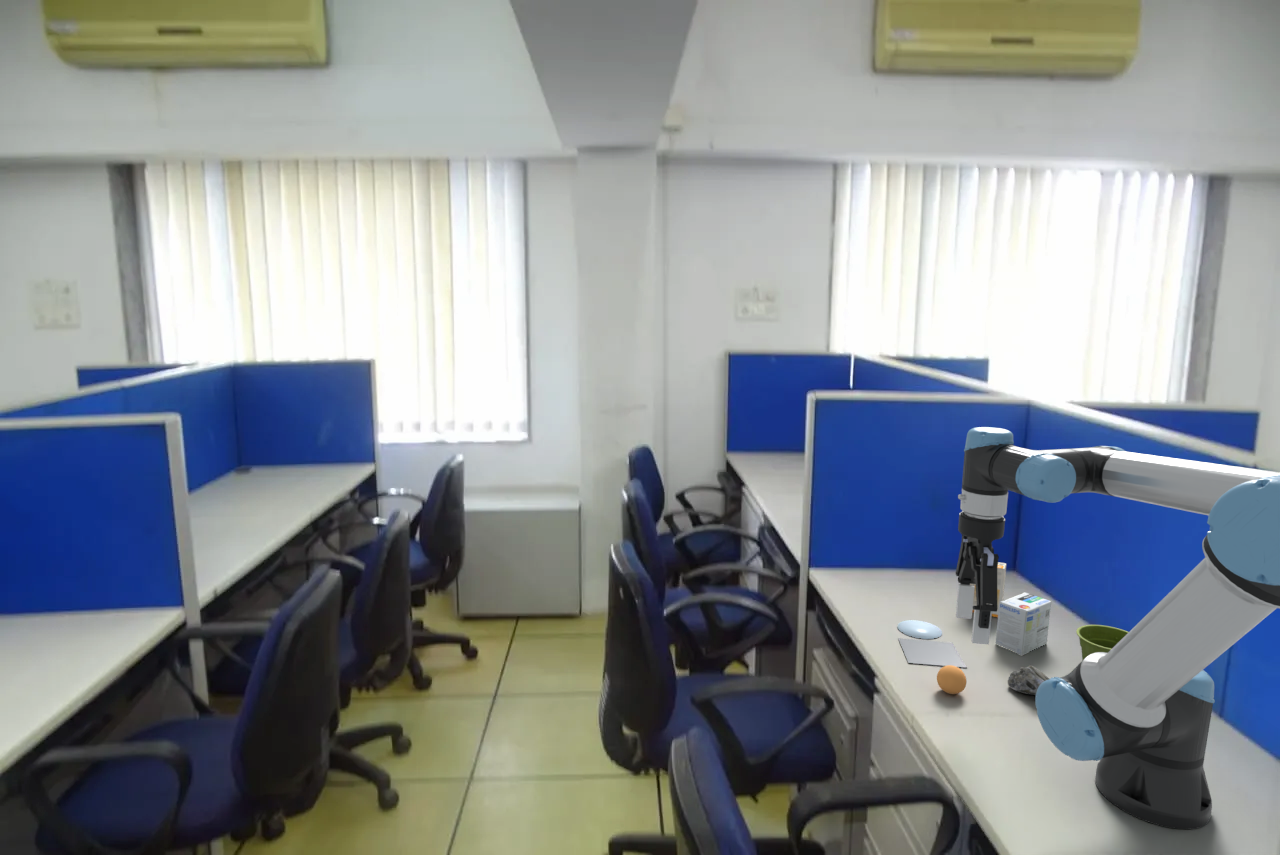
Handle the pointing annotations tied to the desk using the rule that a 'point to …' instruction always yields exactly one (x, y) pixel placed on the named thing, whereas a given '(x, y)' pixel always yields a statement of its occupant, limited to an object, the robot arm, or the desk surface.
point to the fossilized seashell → (1026, 680)
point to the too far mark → (919, 629)
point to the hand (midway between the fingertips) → (971, 629)
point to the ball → (951, 679)
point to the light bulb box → (1023, 623)
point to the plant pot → (1098, 638)
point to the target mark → (931, 652)
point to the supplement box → (1000, 587)
